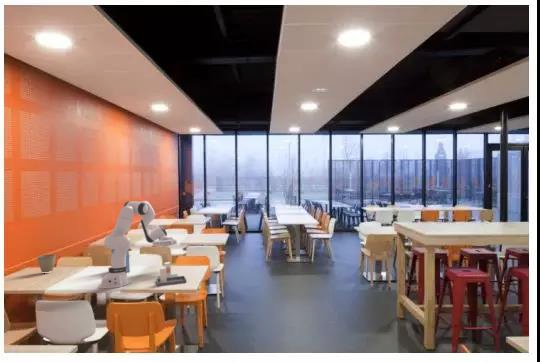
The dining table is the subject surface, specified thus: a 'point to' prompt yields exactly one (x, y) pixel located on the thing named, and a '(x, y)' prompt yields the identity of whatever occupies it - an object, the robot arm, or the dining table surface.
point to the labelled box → (168, 269)
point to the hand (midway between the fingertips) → (165, 243)
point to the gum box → (126, 259)
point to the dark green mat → (171, 276)
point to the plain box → (163, 275)
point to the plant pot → (46, 262)
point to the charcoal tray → (172, 281)
